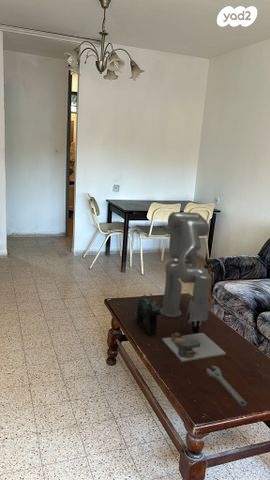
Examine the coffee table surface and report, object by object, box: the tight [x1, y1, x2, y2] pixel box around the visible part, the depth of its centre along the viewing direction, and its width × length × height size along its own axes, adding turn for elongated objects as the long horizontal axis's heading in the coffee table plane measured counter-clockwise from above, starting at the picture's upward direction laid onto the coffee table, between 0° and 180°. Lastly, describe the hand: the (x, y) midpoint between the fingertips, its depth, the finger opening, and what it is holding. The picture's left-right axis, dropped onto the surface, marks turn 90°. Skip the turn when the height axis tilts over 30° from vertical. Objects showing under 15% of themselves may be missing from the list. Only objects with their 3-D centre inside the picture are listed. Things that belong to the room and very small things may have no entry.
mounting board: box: [161, 332, 226, 363], centre depth 176 cm, size 20×24×6 cm
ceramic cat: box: [136, 293, 161, 336], centre depth 189 cm, size 20×6×20 cm, turn 22°
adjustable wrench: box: [206, 365, 247, 408], centre depth 148 cm, size 25×6×2 cm, turn 15°
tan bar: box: [171, 332, 195, 357], centre depth 173 cm, size 17×4×4 cm, turn 18°
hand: (194, 332), depth 178 cm, fingers closed
